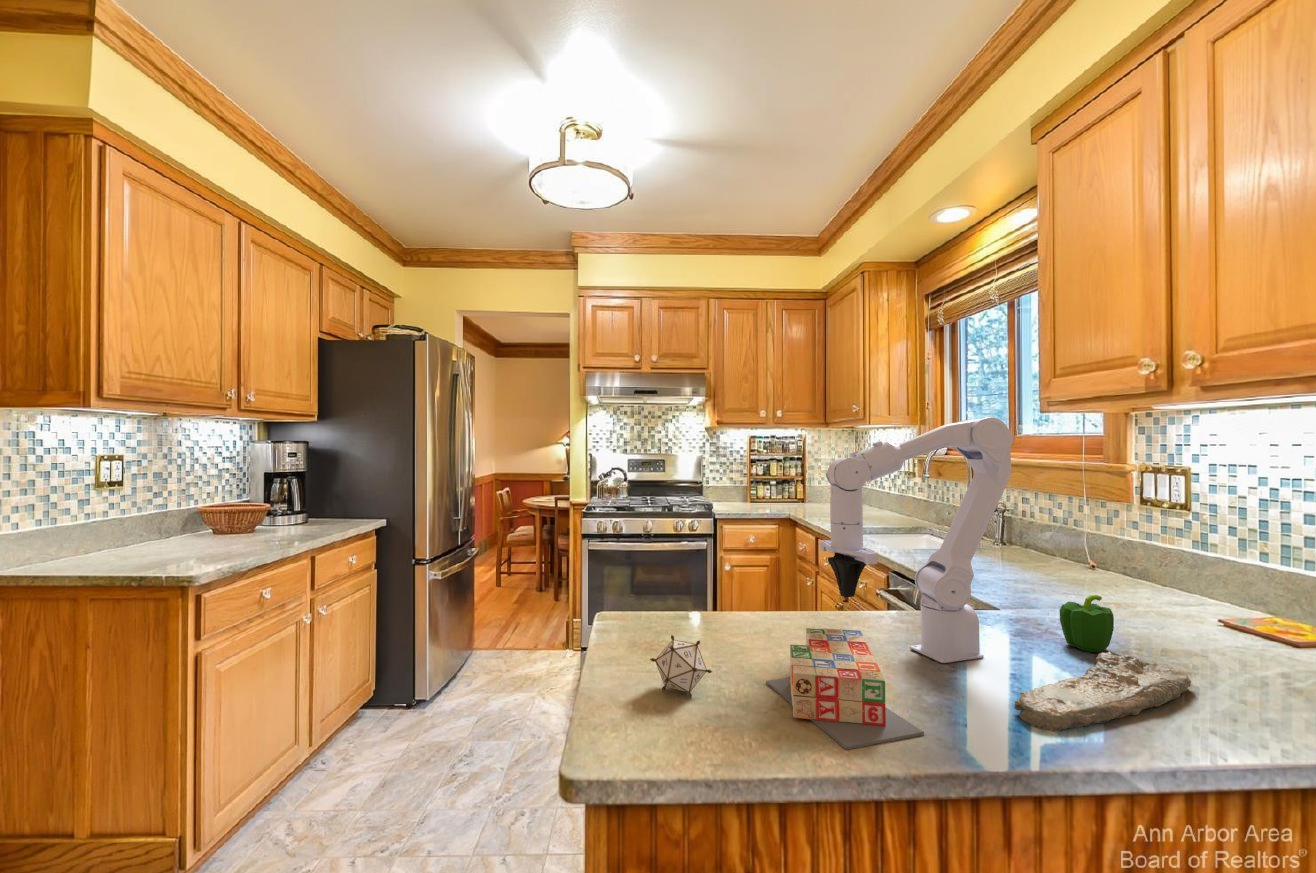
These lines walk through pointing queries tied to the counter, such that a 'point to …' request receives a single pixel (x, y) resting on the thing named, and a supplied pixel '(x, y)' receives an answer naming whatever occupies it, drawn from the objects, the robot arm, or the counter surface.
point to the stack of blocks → (836, 679)
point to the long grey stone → (1102, 693)
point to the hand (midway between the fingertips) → (847, 596)
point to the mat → (856, 724)
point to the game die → (681, 665)
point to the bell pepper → (1087, 624)
